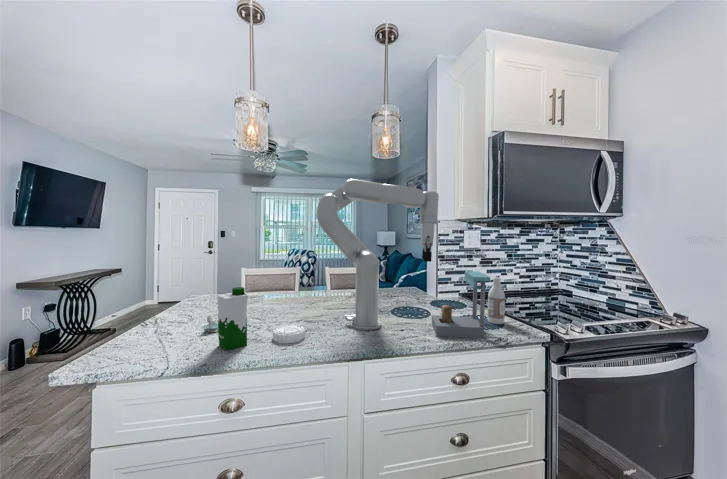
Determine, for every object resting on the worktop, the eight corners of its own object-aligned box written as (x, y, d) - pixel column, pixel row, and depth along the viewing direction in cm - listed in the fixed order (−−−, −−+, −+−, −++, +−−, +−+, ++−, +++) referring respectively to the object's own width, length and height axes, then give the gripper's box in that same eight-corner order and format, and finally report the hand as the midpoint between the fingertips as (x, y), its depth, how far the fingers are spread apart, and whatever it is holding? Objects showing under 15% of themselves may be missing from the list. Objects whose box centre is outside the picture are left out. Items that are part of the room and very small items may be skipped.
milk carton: (250, 345, 109) (250, 289, 108) (224, 352, 102) (223, 293, 101) (240, 338, 115) (240, 285, 114) (215, 345, 109) (214, 289, 108)
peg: (442, 331, 124) (442, 307, 124) (440, 328, 128) (441, 304, 128) (452, 332, 124) (452, 307, 123) (450, 329, 128) (450, 305, 127)
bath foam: (498, 325, 133) (499, 279, 132) (484, 321, 138) (485, 277, 138) (507, 322, 136) (508, 278, 136) (493, 318, 142) (494, 276, 141)
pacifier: (223, 327, 128) (207, 328, 127) (223, 312, 128) (207, 313, 126) (219, 333, 121) (202, 334, 119) (219, 318, 121) (202, 318, 119)
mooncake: (305, 342, 112) (305, 333, 112) (271, 345, 110) (271, 335, 110) (305, 331, 124) (305, 322, 124) (274, 333, 122) (274, 324, 121)
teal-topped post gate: (472, 338, 118) (473, 276, 117) (463, 325, 133) (464, 271, 131) (488, 338, 117) (490, 277, 116) (477, 325, 132) (479, 271, 131)
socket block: (436, 336, 119) (436, 325, 119) (431, 324, 133) (431, 315, 133) (484, 338, 118) (484, 327, 117) (474, 326, 132) (474, 316, 131)
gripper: (418, 220, 141) (416, 257, 142) (420, 219, 124) (418, 261, 125) (435, 221, 140) (433, 258, 141) (439, 220, 123) (437, 262, 124)
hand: (426, 260), depth 133 cm, fingers open, 9 cm apart
